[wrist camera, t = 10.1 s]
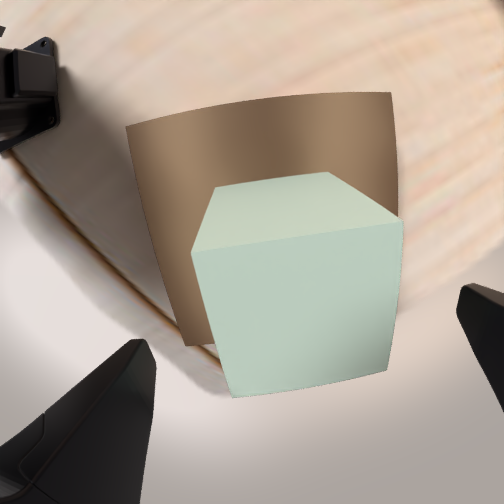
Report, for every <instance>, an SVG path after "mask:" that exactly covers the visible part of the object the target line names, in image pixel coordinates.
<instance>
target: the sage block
mask: <svg viewBox="0 0 504 504" xmlns="http://www.w3.org/2000/svg"><path fill="white" fill-rule="evenodd" d="M402 245H403V220H401V219H400V218H398V217H397V216H395V215H394V214H393V213H391V212H390V211H388V210H387V209H385V208H384V207H382V206H381V205H379V204H378V203H376V202H375V201H373V200H372V199H370V198H369V197H367V196H366V195H364V194H363V193H361V192H360V191H358V190H357V189H355V188H353V187H352V186H350V185H349V184H347V183H345V182H344V181H342V180H341V179H339V178H337V177H336V176H334V175H332V174H331V173H329V172H320V173H312V174H303V175H295V176H288V177H280V178H273V179H266V180H259V181H252V182H246V183H239V184H233V185H227V186H221V187H215V189H214V192H213V195H212V197H211V200H210V202H209V205H208V208H207V210H206V213H205V215H204V218H203V221H202V223H201V226H200V229H199V231H198V234H197V237H196V240H195V242H194V245H193V248H192V251H191V256H192V260H193V264H194V268H195V272H196V276H197V279H198V283H199V287H200V291H201V295H202V298H203V302H204V306H205V309H206V313H207V317H208V320H209V324H210V327H211V331H212V334H213V338H214V341H215V344H216V348H217V351H218V355H219V358H220V361H221V364H222V368H223V371H224V374H225V377H226V381H227V384H228V387H229V390H230V393H231V396H232V398H237V397H246V396H255V395H264V394H271V393H278V392H285V391H292V390H298V389H304V388H309V387H315V386H320V385H325V384H330V383H335V382H340V381H345V380H349V379H354V378H358V377H362V376H366V375H370V374H374V373H378V372H382V371H386V370H387V367H388V362H389V356H390V351H391V345H392V339H393V333H394V326H395V319H396V311H397V303H398V295H399V285H400V274H401V261H402Z"/></svg>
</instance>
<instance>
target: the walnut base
mask: <svg viewBox="0 0 504 504" xmlns="http://www.w3.org/2000/svg"><path fill="white" fill-rule="evenodd" d="M126 132H127V137H128V142H129V147H130V152H131V157H132V162H133V166H134V171H135V176H136V180H137V184H138V189H139V193H140V197H141V201H142V205H143V209H144V213H145V217H146V221H147V225H148V229H149V232H150V236H151V240H152V243H153V247H154V251H155V254H156V258H157V261H158V264H159V268H160V271H161V274H162V278H163V281H164V284H165V287H166V291H167V294H168V297H169V300H170V303H171V306H172V309H173V312H174V315H175V318H176V321H177V324H178V327H179V330H180V332H181V335H182V338H183V341H184V344H185V346H194V345H205V344H214V343H215V341H214V338H213V334H212V331H211V327H210V324H209V320H208V317H207V313H206V309H205V306H204V302H203V298H202V295H201V291H200V287H199V283H198V279H197V276H196V272H195V268H194V264H193V260H192V256H191V251H192V248H193V245H194V242H195V240H196V237H197V234H198V231H199V229H200V226H201V223H202V221H203V218H204V215H205V213H206V210H207V208H208V205H209V202H210V200H211V197H212V195H213V192H214V189H215V187H221V186H227V185H233V184H239V183H246V182H252V181H259V180H266V179H273V178H280V177H288V176H295V175H303V174H312V173H320V172H329V173H331V174H332V175H334V176H336V177H337V178H339V179H341V180H342V181H344V182H345V183H347V184H349V185H350V186H352V187H353V188H355V189H357V190H358V191H360V192H361V193H363V194H364V195H366V196H367V197H369V198H370V199H372V200H373V201H375V202H376V203H378V204H379V205H381V206H382V207H384V208H385V209H387V210H388V211H390V212H391V213H393V214H394V215H395V216H397V217H398V173H397V151H396V136H395V124H394V113H393V104H392V96H391V92H342V93H319V94H304V95H292V96H282V97H273V98H264V99H256V100H249V101H242V102H235V103H229V104H223V105H217V106H212V107H206V108H201V109H196V110H191V111H187V112H182V113H177V114H173V115H169V116H164V117H160V118H156V119H152V120H149V121H145V122H141V123H137V124H134V125H130V126H127V127H126Z"/></svg>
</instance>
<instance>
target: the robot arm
mask: <svg viewBox="0 0 504 504" xmlns="http://www.w3.org/2000/svg"><path fill="white" fill-rule="evenodd" d="M5 28H6V27H2V26H0V37H2V35H3V33H4V31H5ZM45 42H46V45H45V46H44V44H45ZM57 92H58V88H57V79H56V68H55V58H54V57H53V42H52V39H51V38H49V37H43V38H42V39H40V40H38V41H36V42H35V43H33V44H31V45H29V46H28V47H26V48H24V49H23V50H22V49H14V50H11V49H5V48H0V154H1V153H3V152H5V151H7V150H9V149H11V148H13V147H15V146H16V145H18V144H20V143H22V142H25V141H27V140H29V139H31V138H33V137H35V136H37V135H39V134H42V133H44V132H46V131H48V130H50V129H53V128H55V127H57V126H58V125H59V123H60V112H59V106H58V98H57ZM52 117H53V118H54V122H53V123H52V122H51V119H52ZM456 313H457V317H458V319H459V322H460V324H461V326H462V328H463V330H464V332H465V334H466V336H467V338H468V341H469V343H470V345H471V348H472V350H473V352H474V354H475V356H476V358H477V360H478V362H479V364H480V366H481V368H482V369H483V371H484V373H485V375H486V377H487V379H488V381H489V383H490V385H491V387H492V389H493V391H494V393H495V395H496V397H497V399H498V401H499V403H500V405H501V407H502V410H503V412H504V293H501V292H499V291H496V290H493V289H490V288H487V287H484V286H481V285H478V284H475V283H471V284H467V285H464V286H463V287H462V288H461V290H460V295H459V300H458V304H457V308H456ZM155 380H156V362H155V359H154V357H153V355H152V352H151V350H150V348H149V345H148V343H147V341H146V340H144V339H131V340H129V341H128V342H127V343H126V344H124V346H122V347H121V348H120V349H119V350H117V351H116V352H115V353H114V354H112V355H111V356H110V357H109V358H108V359H107V360H105V361H104V362H103V363H102V364H101V365H99V366H98V367H97V368H96V369H95V370H93V371H92V372H91V373H90V374H89V375H87V376H86V377H85V378H84V379H83V380H81V381H80V382H79V383H78V384H77V385H76V386H74V387H73V388H72V389H71V390H70V391H68V392H67V393H66V394H65V395H64V396H63V397H61V398H60V399H59V400H58V401H57V402H55V403H54V404H53V405H52V406H51V407H50V408H48V409H47V410H46V411H45V414H44V413H42V414H41V415H40V416H39V417H38V418H37V419H35V420H34V421H33V422H32V423H31V424H29V425H28V426H27V427H26V428H24V429H23V430H22V431H21V432H20V433H18V434H17V435H15V436H14V437H13V438H11V439H10V440H9V441H7V442H6V443H4V444H3V445H2V446H0V504H140V497H141V490H142V482H143V475H144V468H145V461H146V454H147V449H148V443H149V437H150V431H151V425H152V419H153V410H154V395H155Z"/></svg>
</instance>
